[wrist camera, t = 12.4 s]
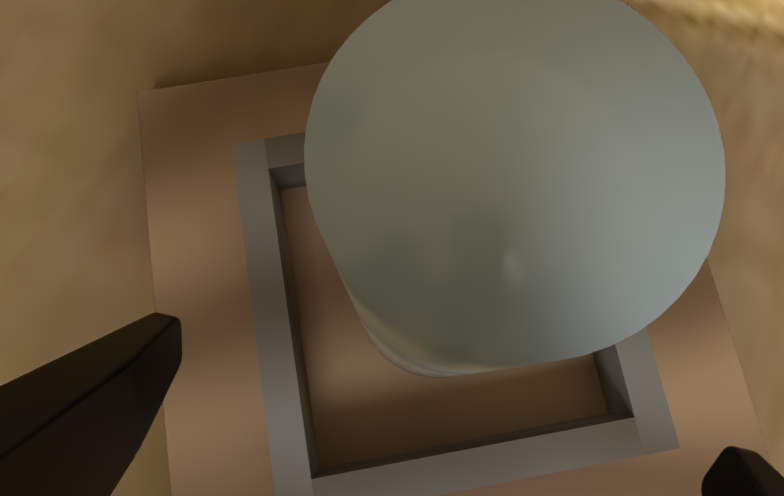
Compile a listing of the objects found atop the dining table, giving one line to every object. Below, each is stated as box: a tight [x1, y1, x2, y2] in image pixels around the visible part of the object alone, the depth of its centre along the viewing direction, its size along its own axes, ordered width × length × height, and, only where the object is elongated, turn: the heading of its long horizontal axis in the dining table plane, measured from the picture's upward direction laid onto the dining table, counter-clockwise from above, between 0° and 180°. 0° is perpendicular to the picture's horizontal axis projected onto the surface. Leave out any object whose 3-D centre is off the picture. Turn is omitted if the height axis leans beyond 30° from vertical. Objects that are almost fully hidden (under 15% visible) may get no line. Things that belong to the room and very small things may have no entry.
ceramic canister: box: [304, 0, 726, 378], centre depth 13 cm, size 5×5×12 cm
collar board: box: [137, 61, 772, 496], centre depth 18 cm, size 18×18×3 cm
